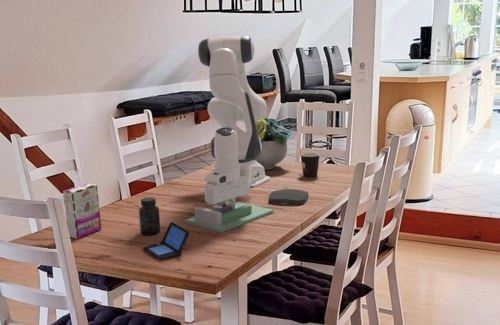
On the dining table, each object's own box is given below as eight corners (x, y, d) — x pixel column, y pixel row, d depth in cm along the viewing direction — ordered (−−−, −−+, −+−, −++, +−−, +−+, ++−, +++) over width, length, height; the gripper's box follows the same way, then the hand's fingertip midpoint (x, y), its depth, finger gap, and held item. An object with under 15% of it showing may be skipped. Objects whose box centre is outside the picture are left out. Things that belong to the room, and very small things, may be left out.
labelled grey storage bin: (220, 215, 217) (219, 203, 216) (230, 217, 214) (229, 205, 213) (206, 220, 212) (205, 207, 211) (216, 222, 208) (215, 210, 207)
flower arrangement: (264, 160, 310) (263, 113, 305) (301, 167, 293) (301, 117, 287) (229, 168, 293) (228, 119, 288) (266, 176, 276) (265, 124, 271)
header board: (237, 204, 234) (237, 190, 232) (273, 212, 222) (273, 197, 221) (185, 222, 213) (184, 207, 212) (221, 232, 202) (220, 216, 200)
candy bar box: (91, 227, 210) (87, 182, 207) (101, 229, 208) (98, 184, 204) (66, 237, 201) (62, 190, 198) (77, 239, 198) (72, 192, 195)
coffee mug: (320, 177, 271) (320, 156, 269) (301, 178, 271) (301, 156, 269) (317, 171, 283) (317, 151, 280) (299, 172, 283) (299, 151, 281)
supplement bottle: (142, 230, 206) (140, 196, 204) (162, 229, 206) (160, 196, 203) (138, 236, 200) (135, 202, 197) (158, 236, 199) (156, 201, 197)
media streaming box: (275, 194, 247) (275, 187, 246) (310, 196, 243) (310, 189, 242) (266, 204, 233) (266, 197, 233) (303, 206, 229) (303, 199, 229)
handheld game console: (141, 250, 188) (140, 228, 186) (172, 243, 194) (171, 221, 192) (159, 262, 178) (158, 238, 176) (191, 254, 183) (190, 231, 182)
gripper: (240, 167, 223) (241, 202, 226) (201, 178, 208) (202, 216, 211) (253, 169, 219) (254, 205, 222) (214, 180, 204) (215, 219, 207)
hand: (228, 210), depth 216 cm, fingers closed
